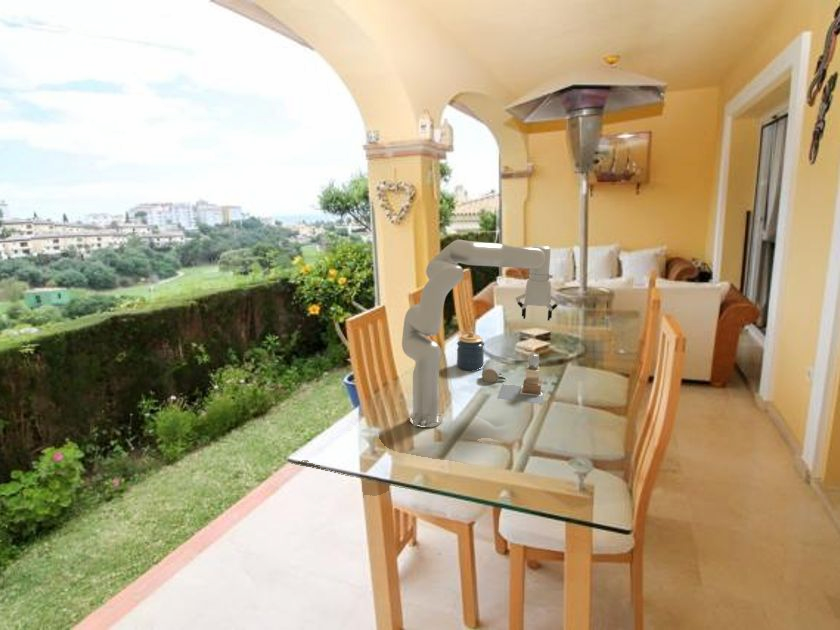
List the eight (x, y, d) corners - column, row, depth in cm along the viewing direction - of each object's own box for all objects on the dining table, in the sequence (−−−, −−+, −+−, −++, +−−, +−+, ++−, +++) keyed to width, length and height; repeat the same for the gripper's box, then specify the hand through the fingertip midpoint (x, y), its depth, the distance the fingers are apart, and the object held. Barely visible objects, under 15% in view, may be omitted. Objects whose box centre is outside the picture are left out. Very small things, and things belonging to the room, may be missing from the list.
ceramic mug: (481, 383, 215) (482, 367, 213) (482, 376, 222) (483, 361, 220) (505, 386, 213) (506, 369, 211) (506, 379, 220) (507, 363, 218)
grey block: (537, 370, 200) (538, 356, 198) (527, 369, 201) (528, 355, 200) (538, 367, 204) (539, 353, 202) (528, 366, 205) (529, 352, 203)
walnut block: (540, 394, 201) (540, 385, 200) (522, 392, 203) (523, 383, 202) (541, 388, 207) (541, 379, 206) (524, 386, 209) (524, 377, 208)
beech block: (538, 384, 201) (538, 371, 199) (525, 383, 202) (526, 369, 201) (538, 380, 205) (539, 366, 204) (526, 378, 207) (527, 365, 205)
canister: (483, 372, 228) (484, 336, 223) (455, 370, 230) (456, 335, 225) (483, 362, 240) (485, 328, 236) (457, 361, 242) (458, 327, 238)
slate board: (542, 406, 193) (542, 403, 192) (496, 400, 198) (497, 398, 197) (544, 388, 209) (544, 386, 209) (502, 383, 214) (502, 381, 214)
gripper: (561, 276, 194) (558, 318, 198) (517, 274, 198) (515, 315, 203) (561, 280, 187) (558, 323, 191) (515, 277, 191) (513, 319, 196)
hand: (536, 318), depth 197 cm, fingers open, 9 cm apart
